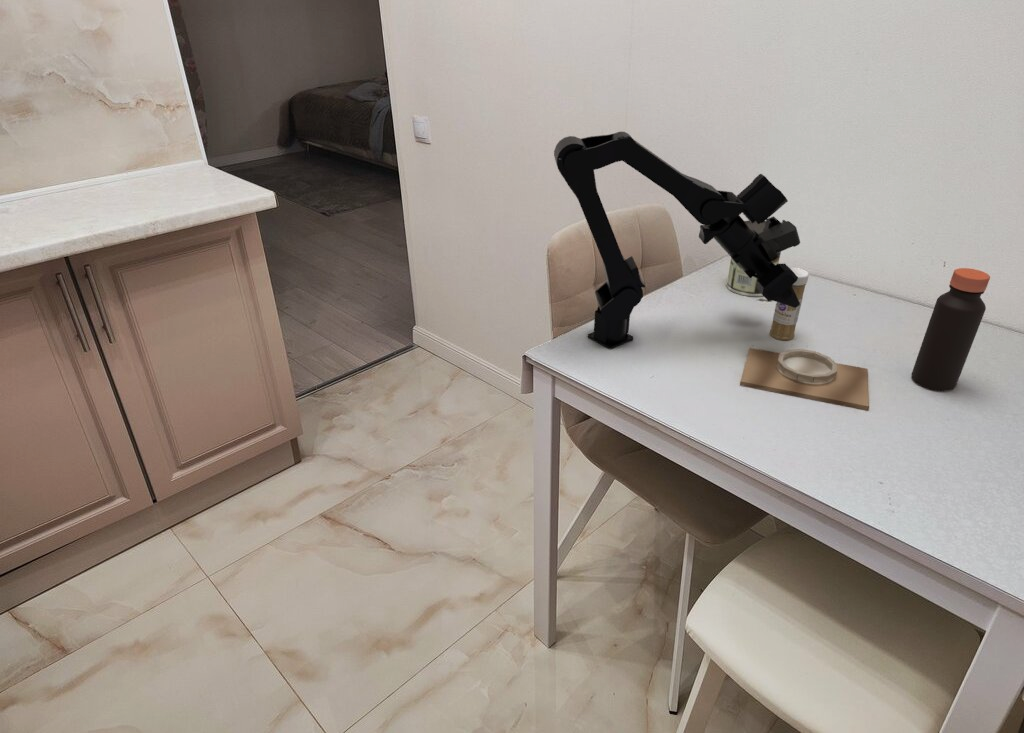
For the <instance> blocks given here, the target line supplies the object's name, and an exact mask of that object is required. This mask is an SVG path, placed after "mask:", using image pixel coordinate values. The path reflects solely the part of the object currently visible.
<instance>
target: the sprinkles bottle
mask: <svg viewBox="0 0 1024 733" xmlns="http://www.w3.org/2000/svg"><path fill="white" fill-rule="evenodd" d="M789 268H790V269H791V270H792V271H793V272H794V273H795V275H796V276H797V277H798V279H797V281H796V282H795V283H794V284H793V285H792V287H793V289H794V292H795V294H796V296H797V298H798V300H799V302H800V305H799V306H798V307H796V308H794V307H791V306H788V305H785V304H782V303H779V302H776V303H775V307H774V313H773V317H772V319H773V320H772V323H771V329H770V330H769V336H771V337H772V338H774V339H777V340H780V341H790V340H792V339H793V338H794V337H795V331H796V326H797V323H798V319H799V315H800V312H801V307H802V303H803V299H804V297H803V296H804V292H805V289H806V285H807V283H808V280H809V272H808V271H806V270H805V269H802V268H798V267H789Z"/></svg>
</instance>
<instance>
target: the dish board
mask: <svg viewBox="0 0 1024 733" xmlns="http://www.w3.org/2000/svg"><path fill="white" fill-rule="evenodd" d="M739 382H740V383H739V386H742V387H747V388H752V389H757V390H762V391H768V392H774V393H777V394H783V395H788V396H792V397H798V398H801V399H807V400H813V401H817V402H823V403H828V404H832V405H837V406H844V407H849V408H853V409H857V410H862V411H869V409H870V390H869V369H868V368H866V367H859V366H854V365H850V364H849V365H848V364H842V363H838V362H837V363H836V362H835V360H833V359H832V358H831V357H829V356H828V355H825V354H822V353H821V352H819V351H816V350H815V351H814V350H808V349H805V348H804V349H803V348H795V349H787V350H784V351H783V352H775V351H771V350H764V349H760V348H759V349H758V348H753V347H749V349H748V352H747V356H746V360H745V364H744V368H743V371H742V374H741V378H740V381H739Z"/></svg>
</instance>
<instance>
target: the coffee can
mask: <svg viewBox="0 0 1024 733" xmlns="http://www.w3.org/2000/svg"><path fill="white" fill-rule="evenodd" d="M744 221H745V222H746V224H747V225H748V226H749V227H750V228H751V229H752V230H755V231H756V233H757V234H759V233H761V232H763V229H764V228H765V223H766V220H765V221H764V222H763V223H762V224H761V223H760V224H758V223H757V222H756V221H755V222H754V223H753V224H752V223H751V222H750V221H749V220H744ZM781 253H782V251H781V252H777V253H776V254H777V255H778V256H779V257H778V258H777V259H775V260H774V261H772V263H773V264H774V265H777V264H780V257H781ZM729 262H730V263H729V268H728V269H729V270H728V274H727V281H726V288H727V289H728V290H729V291H731V292H733V293H735V294H737V295H740V296H746V297H752V298H753V297H757V298H760V297H764V296H763V295H762V294H761V292H760V291H759V290H758V289H757V288H756V284H757V280H758V279H757V278H755V277H751V278H750V277H749V276H748V275H747V274H746V273H745V272H744V271H743V270H742V269H741V268H740V267H739V266H738V265H737V264H736V263H735V261H734V260H733V259H732V258H731V257H730V261H729Z"/></svg>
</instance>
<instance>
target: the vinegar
mask: <svg viewBox="0 0 1024 733" xmlns="http://www.w3.org/2000/svg"><path fill="white" fill-rule="evenodd" d="M990 279H991V276H990V275H989V274H988V272H984V271H982V270H979V269H975V268H967V267H965V268H964V267H959V268H955V269H954V270H953V273H952V276H951V279H950V281H949V285H948V286H949V290H948V291H947V292H945V293H942V294H941V295H940V296H938V297H937V299H936V301H935V304H934V307H933V310H932V313H931V316H930V319H929V321H928V324H927V327H926V330H925V333H924V337H923V340H922V342H921V344H920V347H919V351H918V354H917V357H916V359H915V363H914V365H913V369H912V371H911V379H912V381H913V382H914V383H916V385H918V386H920V387H922V388H923V389H927V390H929V391H934V392H950V391H951V390H954V389H955V388H956V387H957V385H958V382H959V379H960V377H961V374H962V372H963V369H964V367H965V364H966V361H967V359H968V356H969V354H970V352H971V348H972V345H973V343H974V340H975V339H976V335H977V332H978V330H979V328H980V326H981V323H982V320H983V318H984V315H985V312H986V308H987V307H986V304H985V303H984V301H983V300H982V298H981V296H982V295H983V294H984V293H985V291H986V290H987V288H988V285H989V282H990Z"/></svg>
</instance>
